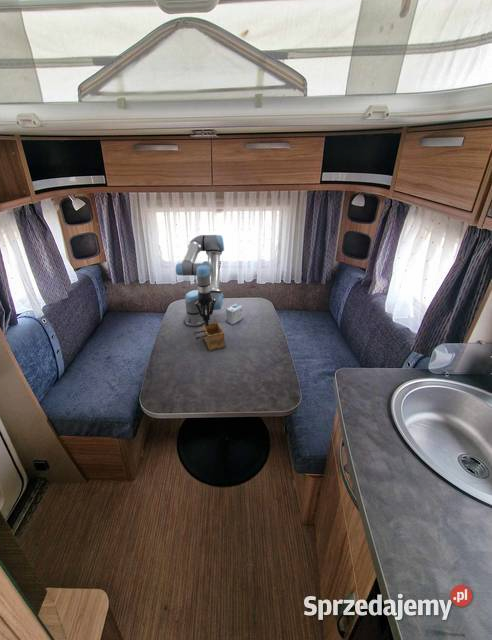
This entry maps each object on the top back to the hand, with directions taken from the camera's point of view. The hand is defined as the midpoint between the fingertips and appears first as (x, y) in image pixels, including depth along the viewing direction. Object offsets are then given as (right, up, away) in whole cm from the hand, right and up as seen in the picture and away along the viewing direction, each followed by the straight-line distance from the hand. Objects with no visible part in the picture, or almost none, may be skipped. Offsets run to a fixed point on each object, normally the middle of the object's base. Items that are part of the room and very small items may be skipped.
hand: (206, 324), depth 177 cm
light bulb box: (+19, -2, +31) cm, 36 cm away
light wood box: (+9, -7, +6) cm, 13 cm away
